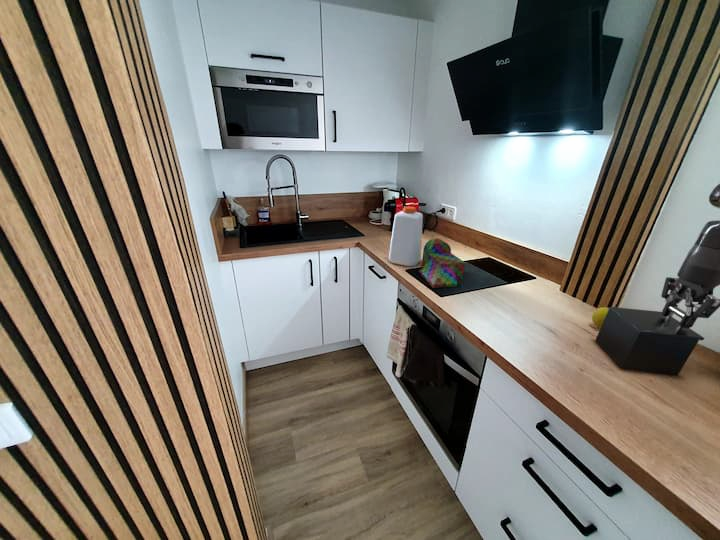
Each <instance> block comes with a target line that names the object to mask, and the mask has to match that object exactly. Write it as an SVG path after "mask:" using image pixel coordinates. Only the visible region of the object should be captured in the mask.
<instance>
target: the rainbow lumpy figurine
mask: <svg viewBox="0 0 720 540" xmlns="http://www.w3.org/2000/svg"><path fill="white" fill-rule="evenodd" d="M421 266H422V268H420V270H418V274H419V276H421V277H422V278H423V279H424V280H425V281H426V282H427V283H428V285H430V286H431V287H432V288H433V289H436V288H437V289H439V288H450V287H457V286H458V281H462V280H463V278H464V273H465V267H466V262H465V261H463V260H462V258H459V257H458V256H456V255H455V254H453V253H452V248H451V246H450V245H449V243H447V242H445V240H443V239H441V238H438V237H434V238H431V239H429V240H428V241H426V243H425V245H424V246H423V252H422V257H421Z"/></svg>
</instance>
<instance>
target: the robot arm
mask: <svg viewBox="0 0 720 540" xmlns="http://www.w3.org/2000/svg"><path fill="white" fill-rule="evenodd" d="M708 203H709V204H710V205H711V206H712V207H714V208H717V209H719V210H720V183H719V184H717V185H716V186H715V187H714V188H713V189H712V190H711V191H710V193H709V196H708ZM676 276H677V277H673V276H672V277H671V276H670V277H669V276H666V277H665V279H664V283H663V288H662V292H661V295H660V297H661V298H662V299H664V300H665V305H664V306H663V309H662V310H661V312H662V315H664V316H667V315H668V313H669V310H668V308H669V307H670V306H672V305H675V306H676V307H678V308H679V305H678V304H680V303H681V302H682V301H683V300H684V306H685V307H686V310H685V312H686V314H684V316H683V318H681V320H680V321H679V322H680V323H679V326H680V327H682V328H690V329H691V328H692V327H693V326H694V325H695V323H696V322H697V320H698V318H699V319H700V318H701V319H709V318H710V317H711V316H712V315H713V314H714V313H715V312H716V311H717V310H718V309H720V298H717V297H716V296H715V295H714V289H715V288H717V287H718V286H720V219H716V220H709V221H707V222H706V223H705V224H704V225H703V227H702V228H701V230H700V232H699V234H698V235H697V237H696V240H695V242H694V244H693V245H692V246H691V248H690V249H689V250H688V252H687V254H686V256H685V258H684V260H683V262H682V264H681V265H680V268H679V270H678V272H677V274H676ZM694 308H695V309H694Z"/></svg>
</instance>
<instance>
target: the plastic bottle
mask: <svg viewBox="0 0 720 540" xmlns="http://www.w3.org/2000/svg"><path fill="white" fill-rule="evenodd" d="M423 219H424V215H423V213H422V212H418V211H417V208H416V207H415V206H404V207H403V208H402V210H401V211H398V212H396V213H395V214H394V220H393V225H392V233H391V240H390V245H389V252H388V261H389V263H391V264H395V265H399V266H404V267H415V266H416V265H418V263H420V261H421V260H422V245H423V244H422V241H423V240H422V239H423Z"/></svg>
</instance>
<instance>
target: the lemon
mask: <svg viewBox="0 0 720 540" xmlns="http://www.w3.org/2000/svg"><path fill="white" fill-rule="evenodd" d="M609 308H610V307H608V306H606V307H598V308H597V309H595V311H594V312H593V313H592V315H591V320H592V323H593V324H594V325H595V326H596V327H597V329H600V328H601V326H602V324H603V321H604V319H605V317H606V315H607V312H608V310H609Z"/></svg>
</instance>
